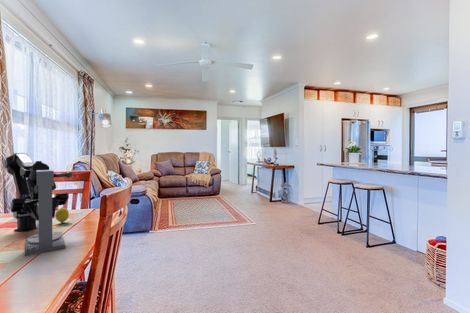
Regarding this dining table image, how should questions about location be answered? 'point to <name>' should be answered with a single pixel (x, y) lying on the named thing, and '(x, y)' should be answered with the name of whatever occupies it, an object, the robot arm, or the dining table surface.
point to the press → (45, 216)
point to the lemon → (62, 214)
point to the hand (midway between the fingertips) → (45, 218)
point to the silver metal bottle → (38, 220)
